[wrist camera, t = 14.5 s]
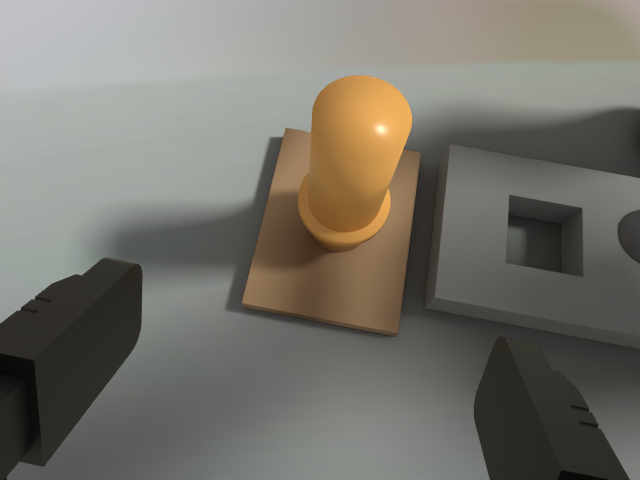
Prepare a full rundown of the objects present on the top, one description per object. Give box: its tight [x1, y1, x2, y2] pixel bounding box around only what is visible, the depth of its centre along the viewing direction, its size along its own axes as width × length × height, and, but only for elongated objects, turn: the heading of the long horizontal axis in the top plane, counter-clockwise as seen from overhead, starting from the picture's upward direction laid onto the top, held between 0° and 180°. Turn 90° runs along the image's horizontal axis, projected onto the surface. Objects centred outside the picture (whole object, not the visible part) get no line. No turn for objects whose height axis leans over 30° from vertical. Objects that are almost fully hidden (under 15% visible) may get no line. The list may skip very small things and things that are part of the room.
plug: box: [298, 75, 412, 252], centre depth 25 cm, size 5×5×11 cm
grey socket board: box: [424, 144, 640, 349], centre depth 29 cm, size 16×10×3 cm, turn 79°
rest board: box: [242, 128, 421, 336], centre depth 30 cm, size 9×12×1 cm
